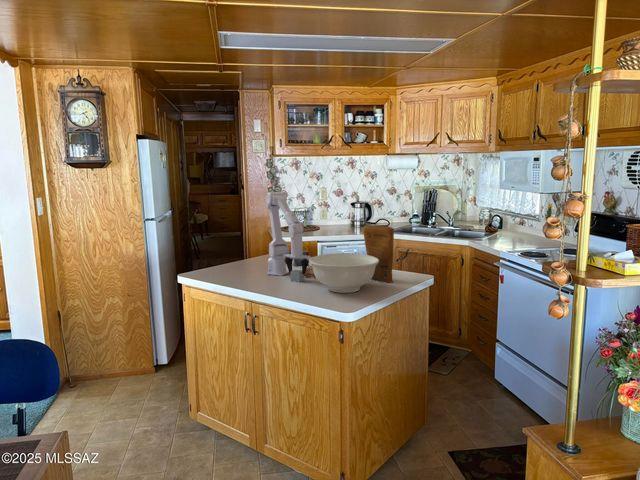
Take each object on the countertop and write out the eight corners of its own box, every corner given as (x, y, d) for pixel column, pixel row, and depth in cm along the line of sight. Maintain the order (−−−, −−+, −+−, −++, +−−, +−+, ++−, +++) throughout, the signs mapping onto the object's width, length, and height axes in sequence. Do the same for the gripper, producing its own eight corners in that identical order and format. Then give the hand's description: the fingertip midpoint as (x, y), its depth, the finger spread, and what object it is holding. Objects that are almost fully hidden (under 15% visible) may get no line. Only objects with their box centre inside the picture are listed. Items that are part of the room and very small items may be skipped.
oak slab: (303, 272, 250) (303, 268, 249) (308, 270, 254) (308, 266, 254) (313, 273, 247) (313, 269, 247) (318, 271, 252) (317, 267, 251)
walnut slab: (303, 277, 250) (303, 272, 249) (308, 275, 255) (308, 270, 255) (313, 278, 247) (313, 273, 247) (318, 276, 252) (318, 271, 252)
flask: (292, 266, 275) (292, 248, 274) (294, 265, 278) (294, 247, 276) (308, 267, 273) (308, 248, 271) (309, 266, 276) (309, 248, 274)
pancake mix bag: (388, 284, 231) (389, 228, 227) (361, 278, 246) (361, 224, 241) (397, 282, 236) (398, 226, 231) (369, 276, 250) (370, 223, 246)
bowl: (337, 277, 247) (337, 250, 244) (391, 287, 226) (391, 257, 224) (295, 290, 222) (295, 259, 220) (351, 302, 202) (352, 269, 199)
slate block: (290, 281, 240) (290, 271, 239) (295, 279, 244) (295, 269, 244) (299, 282, 238) (299, 272, 237) (303, 280, 242) (303, 270, 242)
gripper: (280, 247, 238) (280, 273, 240) (306, 248, 232) (306, 275, 234) (286, 244, 244) (287, 270, 246) (312, 246, 238) (312, 273, 240)
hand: (297, 273), depth 240 cm, fingers open, 7 cm apart
